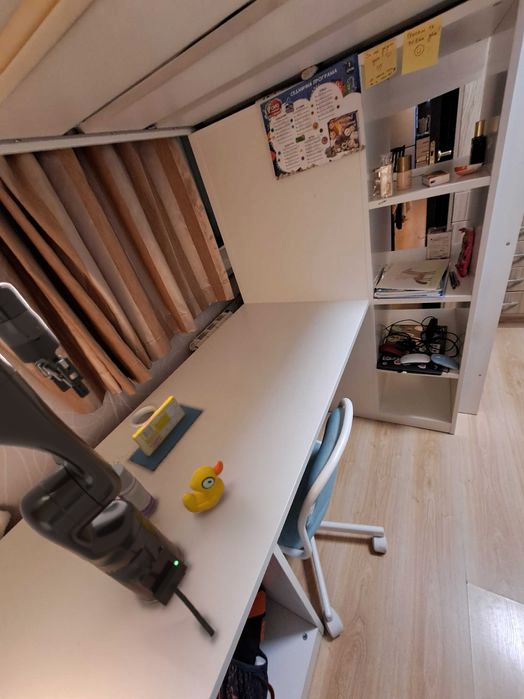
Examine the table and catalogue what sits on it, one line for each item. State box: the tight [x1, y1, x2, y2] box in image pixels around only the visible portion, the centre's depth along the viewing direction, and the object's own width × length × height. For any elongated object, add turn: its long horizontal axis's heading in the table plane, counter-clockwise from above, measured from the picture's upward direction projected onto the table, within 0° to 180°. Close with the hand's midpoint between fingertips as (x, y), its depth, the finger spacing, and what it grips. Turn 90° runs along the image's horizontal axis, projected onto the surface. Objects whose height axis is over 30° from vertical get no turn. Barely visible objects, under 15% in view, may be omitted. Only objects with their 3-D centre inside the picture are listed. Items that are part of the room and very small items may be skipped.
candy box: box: [131, 395, 185, 456], centre depth 86 cm, size 16×2×8 cm, turn 150°
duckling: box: [182, 460, 225, 514], centre depth 64 cm, size 11×5×10 cm, turn 124°
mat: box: [128, 404, 203, 472], centre depth 88 cm, size 11×22×1 cm, turn 150°
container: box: [111, 462, 157, 518], centre depth 66 cm, size 5×5×15 cm
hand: (76, 392), depth 67 cm, fingers open, 8 cm apart
